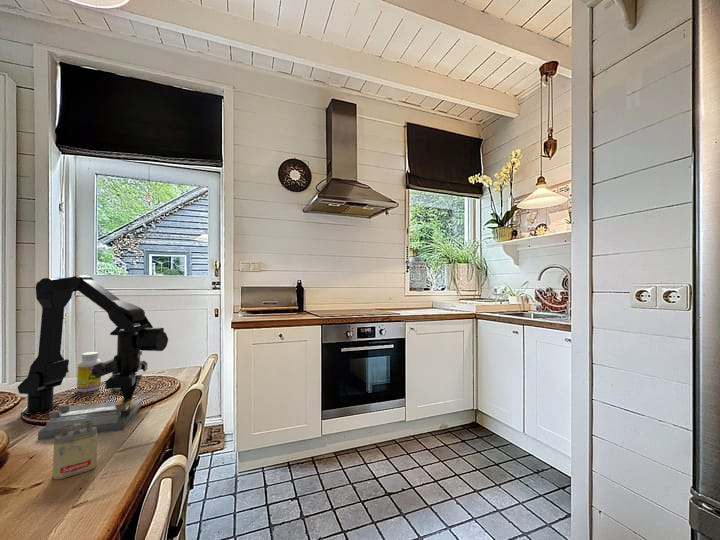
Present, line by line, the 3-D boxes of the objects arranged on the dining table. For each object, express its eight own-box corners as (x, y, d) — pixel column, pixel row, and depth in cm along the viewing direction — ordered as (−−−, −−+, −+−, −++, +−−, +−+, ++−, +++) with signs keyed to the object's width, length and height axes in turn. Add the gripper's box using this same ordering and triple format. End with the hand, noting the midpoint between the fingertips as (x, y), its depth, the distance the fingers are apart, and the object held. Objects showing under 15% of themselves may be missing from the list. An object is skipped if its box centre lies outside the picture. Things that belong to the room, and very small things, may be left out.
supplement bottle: (87, 393, 117) (88, 355, 118) (71, 391, 119) (72, 354, 119) (105, 387, 124) (106, 351, 124) (90, 385, 125) (91, 350, 125)
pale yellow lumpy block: (119, 407, 99) (119, 398, 99) (133, 406, 101) (133, 397, 101) (112, 415, 94) (112, 405, 94) (127, 413, 95) (128, 403, 96)
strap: (54, 420, 89) (54, 416, 89) (60, 416, 92) (60, 412, 92) (125, 411, 95) (125, 407, 95) (129, 407, 98) (129, 403, 98)
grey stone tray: (71, 412, 101) (71, 395, 101) (141, 405, 107) (142, 389, 107) (37, 440, 84) (38, 419, 84) (123, 430, 90) (124, 410, 90)
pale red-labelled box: (52, 482, 67) (54, 431, 67) (51, 474, 70) (53, 424, 70) (97, 468, 72) (99, 420, 72) (95, 461, 75) (96, 415, 75)
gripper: (107, 345, 107) (106, 394, 107) (82, 359, 90) (81, 419, 90) (148, 343, 111) (147, 391, 111) (132, 356, 94) (130, 413, 93)
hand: (127, 402), depth 101 cm, fingers closed
